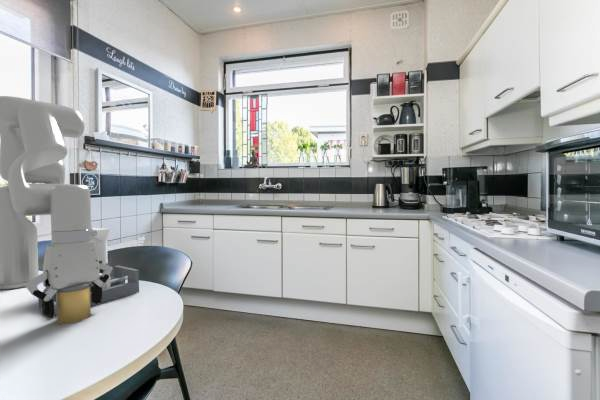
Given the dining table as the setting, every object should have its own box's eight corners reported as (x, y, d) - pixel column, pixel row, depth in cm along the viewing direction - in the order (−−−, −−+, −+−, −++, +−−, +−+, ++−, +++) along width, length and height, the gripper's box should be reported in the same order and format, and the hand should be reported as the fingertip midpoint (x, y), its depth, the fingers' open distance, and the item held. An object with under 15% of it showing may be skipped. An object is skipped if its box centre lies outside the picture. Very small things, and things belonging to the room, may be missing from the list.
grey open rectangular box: (38, 307, 79) (37, 282, 79) (118, 285, 96) (117, 265, 96) (58, 315, 73) (57, 288, 73) (139, 291, 90) (138, 269, 90)
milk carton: (66, 290, 92) (64, 224, 92) (93, 281, 101) (92, 221, 100) (88, 292, 90) (87, 224, 89) (115, 283, 99) (113, 221, 98)
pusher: (92, 293, 88) (92, 272, 88) (121, 285, 95) (120, 266, 95) (106, 298, 84) (106, 276, 84) (135, 289, 91) (135, 269, 91)
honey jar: (51, 319, 71) (49, 285, 71) (82, 309, 77) (81, 278, 76) (64, 326, 68) (63, 290, 67) (96, 315, 73) (95, 282, 73)
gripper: (102, 231, 81) (104, 295, 81) (17, 241, 66) (20, 319, 67) (118, 233, 77) (120, 300, 78) (32, 244, 62) (34, 327, 63)
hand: (74, 309), depth 72 cm, fingers open, 9 cm apart
